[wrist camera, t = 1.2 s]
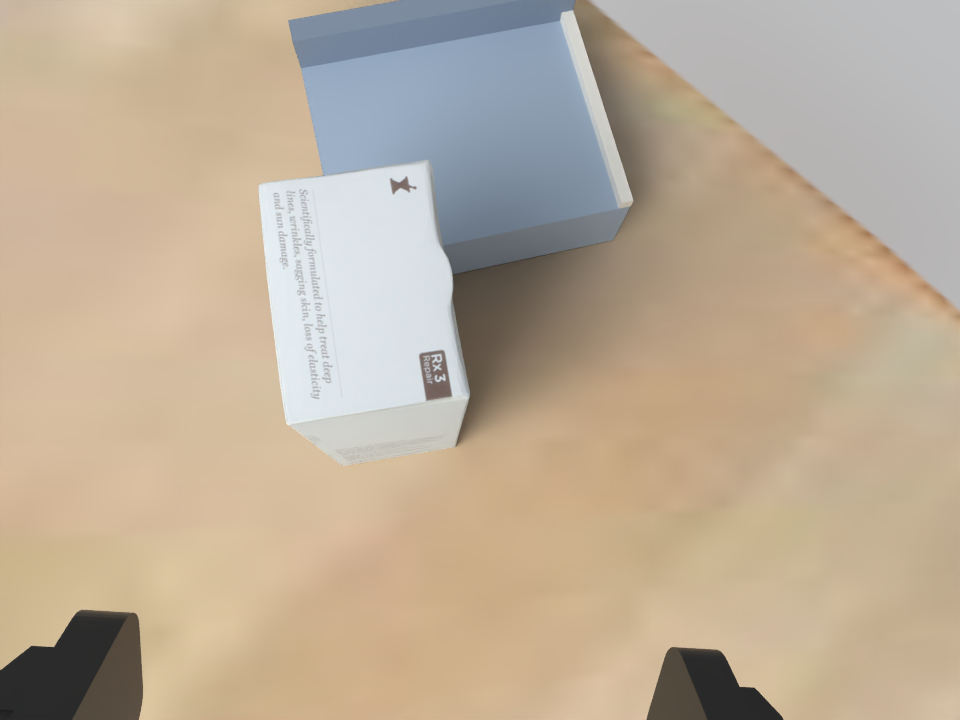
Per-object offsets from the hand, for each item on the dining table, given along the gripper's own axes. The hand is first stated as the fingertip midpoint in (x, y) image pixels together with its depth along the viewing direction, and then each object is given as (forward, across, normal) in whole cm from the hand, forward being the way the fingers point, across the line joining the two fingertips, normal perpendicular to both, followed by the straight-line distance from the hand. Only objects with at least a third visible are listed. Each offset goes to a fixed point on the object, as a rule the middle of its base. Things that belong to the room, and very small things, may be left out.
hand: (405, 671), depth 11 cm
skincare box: (+25, +1, +7) cm, 26 cm away
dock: (+32, -2, -3) cm, 33 cm away
